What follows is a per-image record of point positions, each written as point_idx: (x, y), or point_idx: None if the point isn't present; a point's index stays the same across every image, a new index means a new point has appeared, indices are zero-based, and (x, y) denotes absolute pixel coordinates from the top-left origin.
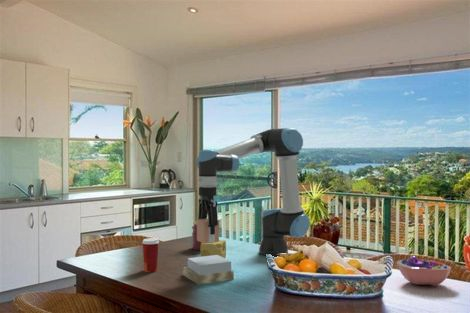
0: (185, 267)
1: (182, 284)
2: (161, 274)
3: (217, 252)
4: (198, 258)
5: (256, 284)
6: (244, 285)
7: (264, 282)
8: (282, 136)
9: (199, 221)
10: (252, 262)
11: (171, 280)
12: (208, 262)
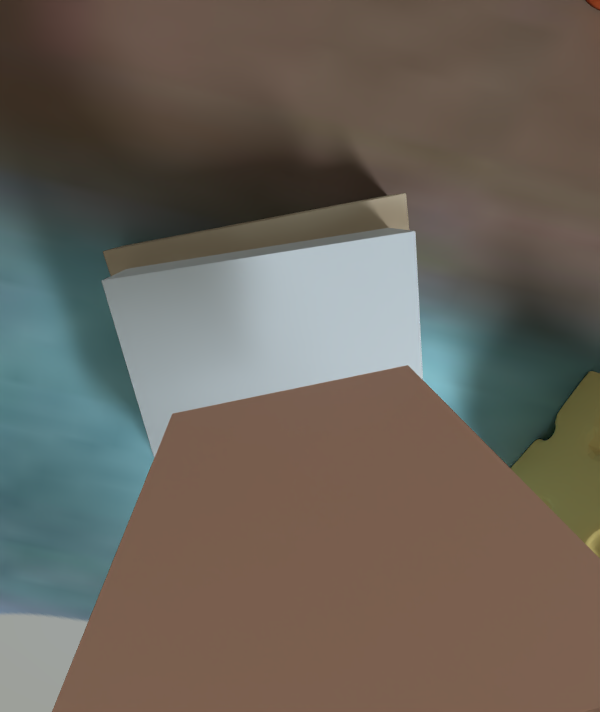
0: (396, 209)
1: (154, 131)
2: (475, 23)
3: (574, 507)
4: (367, 324)
5: (58, 555)
6: (50, 497)
7: (88, 595)
8: None
9: (424, 688)
10: None
11: (283, 69)
12: (195, 374)
